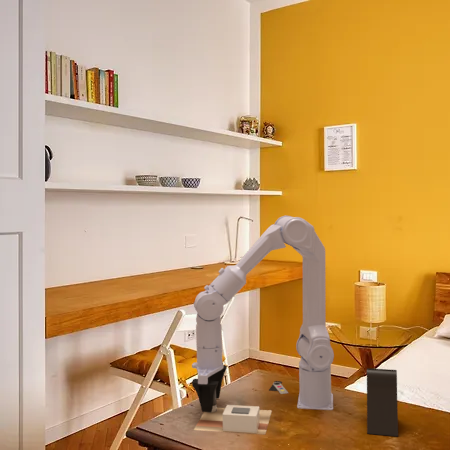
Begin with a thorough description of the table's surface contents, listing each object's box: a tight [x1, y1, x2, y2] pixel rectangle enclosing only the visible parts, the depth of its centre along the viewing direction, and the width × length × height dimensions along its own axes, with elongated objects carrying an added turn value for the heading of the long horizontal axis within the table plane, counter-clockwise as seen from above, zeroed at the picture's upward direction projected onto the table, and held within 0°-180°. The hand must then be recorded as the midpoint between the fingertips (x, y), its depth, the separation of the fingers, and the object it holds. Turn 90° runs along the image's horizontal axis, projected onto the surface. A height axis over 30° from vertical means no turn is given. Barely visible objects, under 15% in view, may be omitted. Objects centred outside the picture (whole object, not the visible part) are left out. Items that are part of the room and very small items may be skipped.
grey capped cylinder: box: [207, 390, 218, 413], centre depth 120 cm, size 3×3×6 cm
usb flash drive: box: [268, 380, 289, 395], centre depth 133 cm, size 9×5×1 cm, turn 162°
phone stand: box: [366, 367, 399, 437], centre depth 111 cm, size 9×6×12 cm, turn 164°
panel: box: [193, 407, 273, 435], centre depth 115 cm, size 12×15×1 cm
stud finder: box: [222, 404, 261, 434], centre depth 112 cm, size 5×7×4 cm
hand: (210, 404), depth 120 cm, fingers open, 7 cm apart
